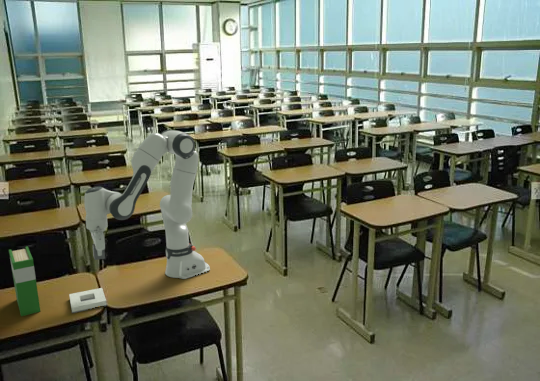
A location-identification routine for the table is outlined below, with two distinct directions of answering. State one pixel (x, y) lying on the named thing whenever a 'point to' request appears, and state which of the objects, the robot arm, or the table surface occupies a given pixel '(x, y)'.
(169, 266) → the robot arm
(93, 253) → the plug
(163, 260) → the table surface
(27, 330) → the table surface
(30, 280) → the hardback book
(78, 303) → the socket plate
